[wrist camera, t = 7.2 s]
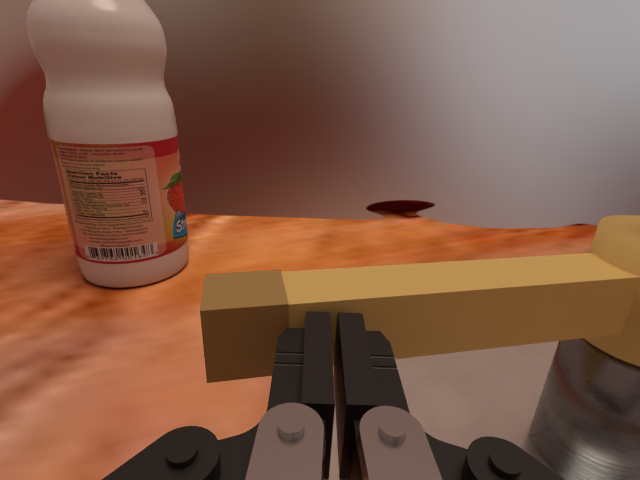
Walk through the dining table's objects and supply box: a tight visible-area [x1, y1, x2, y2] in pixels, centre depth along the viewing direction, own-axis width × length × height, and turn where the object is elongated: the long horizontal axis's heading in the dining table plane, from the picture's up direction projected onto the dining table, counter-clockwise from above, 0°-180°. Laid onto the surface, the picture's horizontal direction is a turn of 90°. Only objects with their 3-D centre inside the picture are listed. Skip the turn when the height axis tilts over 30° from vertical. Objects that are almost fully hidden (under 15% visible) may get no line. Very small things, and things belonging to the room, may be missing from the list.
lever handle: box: [200, 215, 640, 383], centre depth 14 cm, size 19×5×4 cm, turn 102°
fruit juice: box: [27, 0, 189, 288], centre depth 31 cm, size 9×9×28 cm
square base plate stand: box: [329, 338, 640, 480], centre depth 17 cm, size 17×24×16 cm
